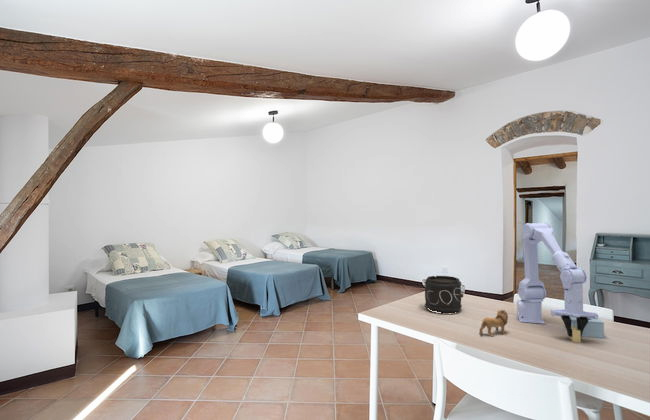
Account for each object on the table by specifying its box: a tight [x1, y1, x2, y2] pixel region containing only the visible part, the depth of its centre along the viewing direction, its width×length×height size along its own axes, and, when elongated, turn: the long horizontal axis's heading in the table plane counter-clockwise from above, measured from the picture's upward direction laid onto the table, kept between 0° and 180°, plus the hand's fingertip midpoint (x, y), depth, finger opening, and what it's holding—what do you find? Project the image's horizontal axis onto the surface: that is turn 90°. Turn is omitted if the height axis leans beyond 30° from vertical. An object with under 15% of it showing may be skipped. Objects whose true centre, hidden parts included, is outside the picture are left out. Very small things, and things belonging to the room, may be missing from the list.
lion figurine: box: [479, 309, 509, 337], centre depth 137 cm, size 15×5×9 cm, turn 116°
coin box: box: [564, 317, 605, 339], centre depth 138 cm, size 10×11×6 cm
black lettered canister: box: [424, 275, 464, 313], centre depth 172 cm, size 18×18×16 cm
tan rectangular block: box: [568, 326, 582, 344], centre depth 130 cm, size 2×5×4 cm, turn 159°
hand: (574, 336), depth 130 cm, fingers closed on tan rectangular block, 2 cm apart
